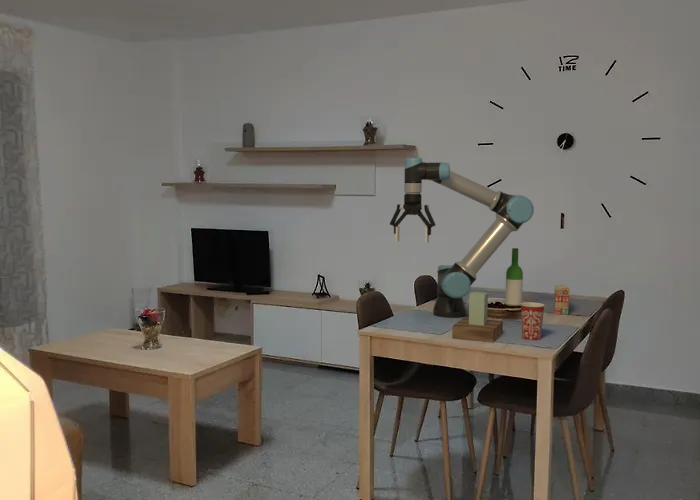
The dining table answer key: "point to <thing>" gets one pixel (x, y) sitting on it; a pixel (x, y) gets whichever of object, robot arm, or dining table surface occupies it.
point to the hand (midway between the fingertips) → (412, 242)
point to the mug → (532, 320)
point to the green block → (478, 308)
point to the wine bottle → (514, 282)
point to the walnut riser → (477, 330)
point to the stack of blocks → (561, 299)
